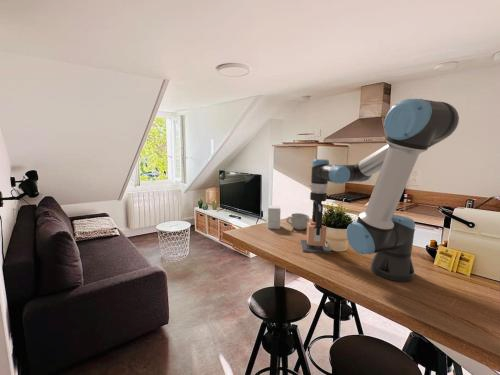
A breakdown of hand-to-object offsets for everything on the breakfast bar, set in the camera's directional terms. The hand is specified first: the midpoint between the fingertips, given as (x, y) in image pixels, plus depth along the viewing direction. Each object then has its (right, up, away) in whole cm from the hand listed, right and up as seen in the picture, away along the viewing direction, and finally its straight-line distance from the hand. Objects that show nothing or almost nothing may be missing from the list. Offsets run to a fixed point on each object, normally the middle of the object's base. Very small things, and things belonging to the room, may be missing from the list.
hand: (315, 237), depth 125 cm
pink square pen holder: (0, -2, 0) cm, 2 cm away
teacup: (-4, 0, +30) cm, 30 cm away
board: (0, -5, +1) cm, 5 cm away
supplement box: (-18, 0, +32) cm, 36 cm away
